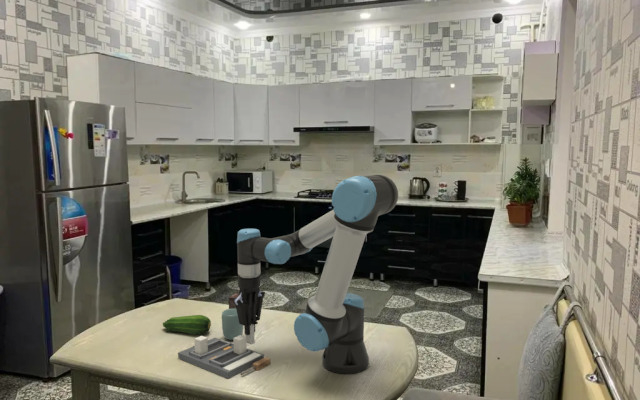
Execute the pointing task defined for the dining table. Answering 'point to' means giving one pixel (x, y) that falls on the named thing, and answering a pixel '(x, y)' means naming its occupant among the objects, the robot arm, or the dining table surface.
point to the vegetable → (188, 324)
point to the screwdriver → (258, 365)
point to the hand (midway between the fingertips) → (250, 342)
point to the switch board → (221, 358)
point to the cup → (231, 324)
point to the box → (231, 303)
